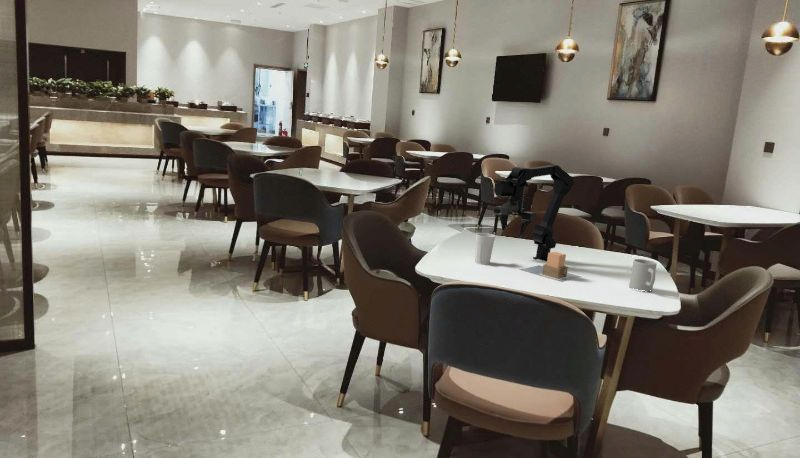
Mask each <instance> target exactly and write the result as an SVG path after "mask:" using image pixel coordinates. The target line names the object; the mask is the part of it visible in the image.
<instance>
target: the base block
mask: <svg viewBox="0 0 800 458" xmlns="http://www.w3.org/2000/svg"><path fill="white" fill-rule="evenodd" d="M542 266H543V271H542V275H546V276H549V277H553V278H556V279H559V278H563V277H567V273H568V271H569V269H568V268H569V266H565V265H564V267H560V268H556V267H552V266H548V265H547V263H546V264H542Z"/></svg>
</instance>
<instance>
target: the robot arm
mask: <svg viewBox="0 0 800 458" xmlns="http://www.w3.org/2000/svg"><path fill="white" fill-rule="evenodd" d="M544 176H550V178H551V180H553V184H552V189H553V193H552V196H551V198H550V200H549V203H548V206H547V208H546V210H545V212H544V213H545V214H544V216H543V218H542V221H541V222H540V223H539V224H538V223H537V224H535V225H534V228H533V230H532V236H531V237H532V238H533V242H534V245H537V246H536V256H533V257H532V259H535V260H541V261H544V262H547V259H548V253H550V252H551V249H555V248H556V246H557V243H556V242H555V239H554V238H553V237H554V223H555V220H556V219H557V215H558V213H559V211H560V208H561V205H562V203H563V201H564V198H565V196H566V195H567V194H569V193H570V192H571V190H572V188H573V186H574V185H575V179H574V177H573V176H571V175H570V174H569V173H568V172H566V171H565V170H564V169H562V168H561V166H559V165H558V164H552V163H551V164H548V165H541V166H533V167H524V166H523V167H522V166H515V167H512V169H511V171H510V172H509V174H508V175H507V177H506V178H505V179H504V180H503V179H498V182H497V183H496V184H495V186H494V194H495V196H496V197H509V198H507V201H506V202H505V203H504V204H503V203H502V204H501V205H496V206H495V207H493V211H492V212H493V213H494V214H495V216H497V217H498V219H499V221H500V226H501V229H502V231H505V230H506V227H507V222H508V218H509V216H511V215H513V216H518V217H521V218H522V219H520V222H521V225H520V230H519V232H520V233H519V234H520V235H524V232H525V230H527V228H528V226H529V225H530V224H531V223H532V222H534V221H535V220H537V217H538V216H537V213H536V212H533V211H524V210H525V209H524V208H523V205H524V203H525V201H526V199H524V197H525V190H526V188H529V187H530V184H529V183H528V181H530V180H531V179H533V178H536V177H544Z"/></svg>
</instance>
